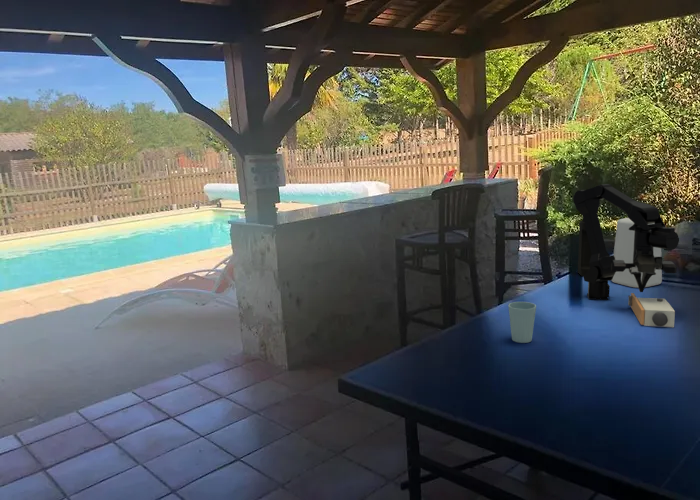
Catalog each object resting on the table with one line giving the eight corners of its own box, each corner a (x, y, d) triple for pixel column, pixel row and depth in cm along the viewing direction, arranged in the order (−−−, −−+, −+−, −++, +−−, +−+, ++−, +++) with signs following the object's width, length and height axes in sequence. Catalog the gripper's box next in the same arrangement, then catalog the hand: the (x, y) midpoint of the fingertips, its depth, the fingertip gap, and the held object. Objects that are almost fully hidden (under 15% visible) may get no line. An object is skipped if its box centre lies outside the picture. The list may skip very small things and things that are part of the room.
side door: (637, 324, 173) (638, 309, 172) (627, 306, 192) (628, 292, 191) (643, 324, 173) (644, 310, 172) (633, 306, 191) (633, 293, 191)
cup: (514, 345, 162) (515, 309, 160) (503, 336, 169) (504, 302, 167) (540, 343, 163) (540, 307, 161) (528, 334, 170) (528, 300, 168)
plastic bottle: (605, 281, 226) (608, 211, 221) (632, 276, 232) (635, 208, 227) (639, 289, 213) (642, 215, 207) (666, 284, 219) (671, 211, 214)
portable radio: (596, 272, 241) (598, 214, 237) (600, 276, 235) (603, 216, 231) (576, 273, 242) (578, 214, 237) (581, 276, 236) (583, 216, 231)
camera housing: (644, 327, 172) (645, 309, 171) (636, 312, 186) (637, 295, 185) (674, 328, 170) (676, 310, 168) (664, 313, 184) (665, 296, 183)
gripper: (615, 249, 180) (613, 297, 183) (682, 250, 174) (678, 299, 177) (610, 243, 190) (608, 288, 193) (673, 243, 185) (670, 290, 188)
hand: (641, 291), depth 187 cm, fingers closed
